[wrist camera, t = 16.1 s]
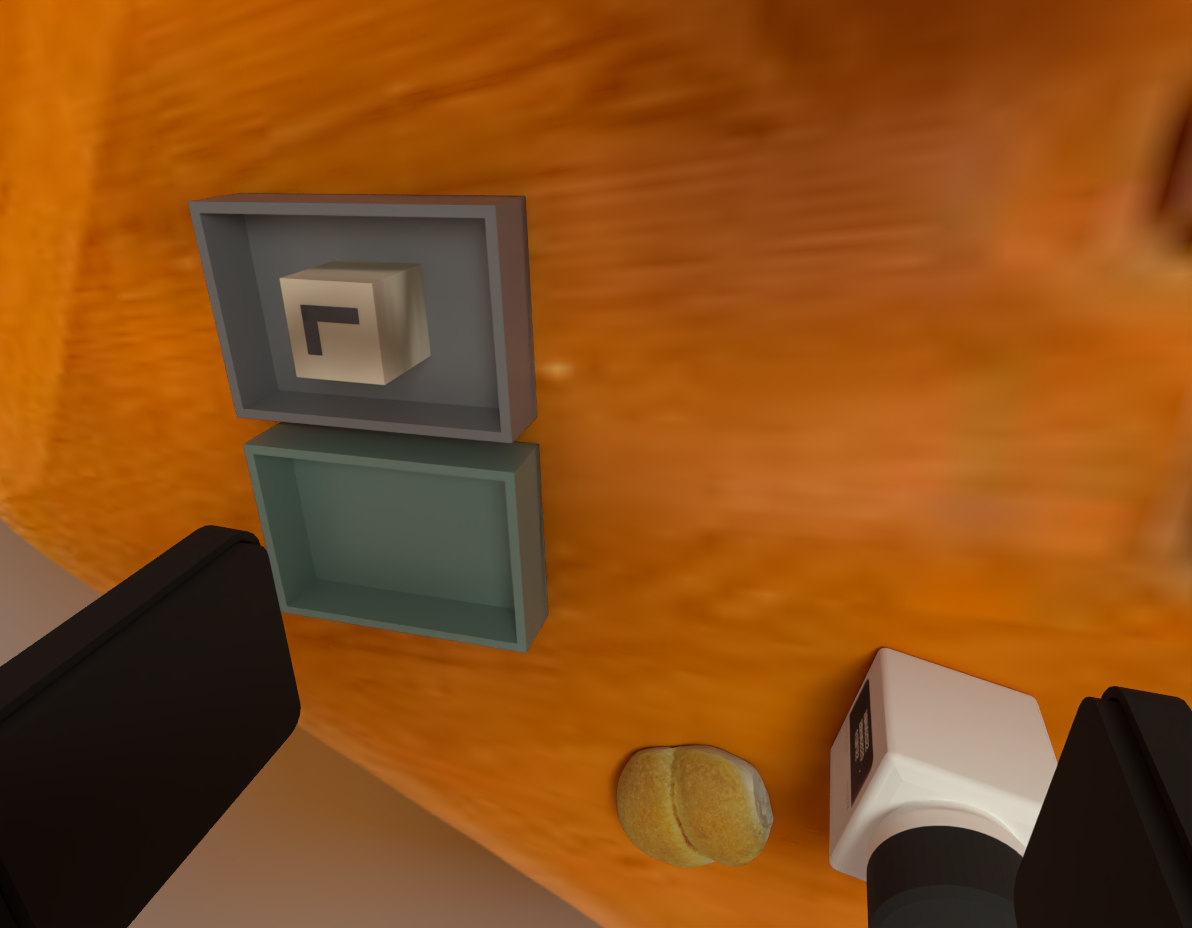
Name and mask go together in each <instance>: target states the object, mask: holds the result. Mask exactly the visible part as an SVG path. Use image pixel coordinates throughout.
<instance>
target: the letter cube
mask: <svg viewBox="0 0 1192 928" xmlns="http://www.w3.org/2000/svg"><path fill="white" fill-rule="evenodd" d="M279 279H280V284H281V290H282V296H283V301H284V307H285V313H286V318H287V324H288V330H289V335H290V341H291V347H292V352H293V358H294V364H295V369H296V375H297V377H302V378H313V379H324V380H335V381H346V382H357V383H368V384H379V385H386V384H387V383H389V382H390V381H392V380H394V379H395V378H397V377H398V376H400V375H401V374H403V373H405V372H406V371H408V370H409V369H411V368H412V367H414V366H416V365H417V364H419V363H420V362H422V361H423V360H425V359H427V358H428V357H430V356H431V354H430V344H429V334H428V324H427V314H426V304H425V294H424V284H423V274H422V264H418V263H398V262H377V261H357V260H334V261H331V262H328V263H325V264H322V265H319V266H316V267H313V268H310V269H306V270H303V271H300V272H297V273H294V274H291V275H288V276H285V277H282V278H279Z"/></svg>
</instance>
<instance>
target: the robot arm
mask: <svg viewBox="0 0 1192 928" xmlns="http://www.w3.org/2000/svg"><path fill="white" fill-rule="evenodd" d="M300 709H301V707H300V700H299V695H298V690H297V686H296V681H295V676H294V671H293V667H292V662H291V657H290V653H289V648H288V643H287V639H286V634H285V629H284V625H283V620H282V615H281V611H280V606H279V601H278V597H277V592H276V587H275V583H274V578H273V573H272V569H271V564H270V559H269V555H268V553H267V551H266V549H265V548H264V547H262V546H261V545H260V543H259V540H258V539H257V537H256V536H255V535H254V534H252V533H250V532H247V531H242V530H236V529H231V528H225V527H219V526H214V525H209V526H204V527H201V528H199V529H197V530H196V531H194V532H193V533H192V534H190V535H189V536H187V537H186V538H184V539H183V540H182V541H180V542H179V543H177V544H176V545H174V546H173V547H172V548H170V549H169V550H167V551H166V552H164V553H163V554H161V555H160V556H159V557H157V558H156V559H154V560H153V561H151V562H150V563H149V564H147V565H146V566H144V567H143V568H141V569H140V570H139V571H137V572H136V573H134V574H133V575H131V576H130V577H128V578H127V579H126V580H124V581H123V582H121V583H120V584H118V585H117V586H116V587H114V588H113V589H111V590H110V591H108V592H107V593H106V594H104V595H103V596H101V597H100V598H99V599H97V600H96V601H94V602H93V603H91V604H90V605H88V606H87V607H85V608H84V609H83V610H81V611H80V612H78V613H77V614H75V615H74V616H73V617H71V618H70V619H68V620H67V621H65V622H64V623H62V624H61V625H60V626H58V627H57V628H55V629H54V630H52V631H51V632H50V633H48V634H47V635H46V636H44V637H43V638H41V639H40V640H38V641H37V642H35V643H34V644H33V645H31V646H29V647H28V648H27V649H25V650H24V651H22V652H21V653H19V654H18V655H17V656H15V657H14V658H12V659H11V660H9V661H8V662H7V663H5V664H4V665H2V666H1V667H0V928H127V927H128V926H129V925H130V924H131V922H132V921H133V920H134V919H135V918H136V917H137V915H138V914H139V913H140V912H141V911H142V909H143V908H144V907H145V906H146V905H147V904H148V902H149V901H150V900H151V899H152V898H153V896H154V895H155V894H156V893H157V892H158V891H159V889H160V888H161V887H162V886H163V885H164V883H165V882H166V881H167V880H168V879H169V878H170V876H171V875H172V874H173V873H174V872H175V871H176V869H177V868H178V867H179V866H180V865H181V863H182V862H183V861H184V860H185V859H186V858H187V856H188V855H189V854H190V853H191V852H192V850H193V849H194V848H195V847H196V846H197V845H198V843H199V842H200V841H201V840H202V839H203V838H204V836H205V835H206V834H207V833H208V832H209V830H210V829H211V828H212V827H213V826H214V824H215V823H216V822H217V821H218V820H219V819H220V817H221V816H222V815H223V814H224V813H225V812H226V810H227V809H228V808H229V807H230V806H231V804H232V803H233V802H234V801H235V800H236V798H237V797H238V796H239V795H240V794H241V793H242V791H243V790H244V789H245V788H246V787H247V785H248V784H249V783H250V782H251V781H252V780H253V778H254V777H255V776H256V775H257V774H258V773H259V771H260V770H261V769H262V768H263V767H264V766H265V764H266V763H267V762H268V761H269V760H270V758H271V757H272V756H273V755H274V754H275V752H276V751H277V750H278V749H279V748H280V747H281V745H282V744H283V743H284V742H285V741H286V740H287V738H288V737H289V736H290V735H291V733H292V732H293V730H294V729H295V727H296V725H297V723H298V719H299V716H300ZM1014 910H1015V917H1016V922H1017V927H1018V928H1192V711H1191V709H1190V708H1189V706H1188V705H1187V704H1186V702H1185V701H1184V700H1182V699H1180V698H1178V697H1174V696H1168V695H1162V694H1157V693H1151V692H1145V691H1140V690H1134V689H1129V688H1123V687H1117V686H1113V687H1109V688H1108V689H1107V690H1106V691H1105V692H1104V693H1103V695H1102V697H1101V699H1099V698H1094V697H1086V698H1085V699H1083V700H1082V702H1081V704H1080V706H1079V708H1078V711H1077V714H1076V716H1075V719H1074V722H1073V724H1072V727H1071V730H1070V732H1069V735H1068V738H1067V740H1066V743H1065V746H1064V748H1063V751H1062V754H1061V756H1060V759H1059V762H1058V764H1057V767H1056V770H1055V772H1054V775H1053V778H1052V780H1051V783H1050V786H1049V788H1048V791H1047V794H1046V797H1045V799H1044V802H1043V805H1042V807H1041V810H1040V813H1039V815H1038V818H1037V821H1036V823H1035V826H1034V829H1033V831H1032V834H1031V837H1030V839H1029V842H1028V845H1027V847H1026V850H1025V853H1024V855H1023V858H1022V861H1021V863H1020V866H1019V869H1018V872H1017V875H1016V878H1015V885H1014Z"/></svg>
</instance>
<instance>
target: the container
mask: <svg viewBox="0 0 1192 928" xmlns="http://www.w3.org/2000/svg"><path fill="white" fill-rule="evenodd" d="M1057 764H1058V763H1057V760H1056V757H1055V754H1054V751H1053V748H1052V745H1051V742H1050V739H1049V736H1048V733H1047V730H1046V727H1045V724H1044V721H1043V718H1042V715H1041V712H1040V709H1039V706H1038V703H1037V701H1036V699H1035V698H1034V697H1032V696H1031V695H1028V694H1025V693H1022V692H1019V691H1016V690H1013V689H1010V688H1007V687H1004V686H1001V685H998V684H995V683H992V682H989V681H986V680H983V679H980V678H977V677H974V676H971V675H968V674H965V673H962V672H959V671H956V670H953V669H949V668H946V667H943V666H940V665H937V664H934V663H931V662H928V661H925V660H922V659H919V658H916V657H913V656H910V655H907V654H904V653H901V652H898V651H895V650H892V649H889V648H881V649H880V650H879V651H878V653H877V655H876V657H875V659H874V661H873V663H872V665H871V667H870V669H869V671H868V673H867V675H866V678H865V680H864V682H863V684H862V686H861V688H860V690H859V692H858V694H857V696H856V698H855V700H854V702H853V704H852V706H851V708H850V710H849V713H848V715H847V717H846V719H845V721H844V723H843V725H842V727H841V729H840V731H839V733H838V735H837V737H836V739H835V741H834V743H833V746H832V748H831V755H830V846H829V862H830V865H831V866H832V868H834V869H835V870H837V871H840V872H842V873H845V874H847V875H850V876H853V877H855V878H858V879H861V880H863V881H866V882H867V905H868V928H1018V927H1017V922H1016V917H1015V910H1014V885H1015V878H1016V875H1017V872H1018V869H1019V866H1020V863H1021V861H1022V858H1023V855H1024V853H1025V850H1026V847H1027V845H1028V842H1029V839H1030V837H1031V834H1032V831H1033V829H1034V826H1035V823H1036V821H1037V818H1038V815H1039V813H1040V810H1041V807H1042V805H1043V802H1044V799H1045V797H1046V794H1047V791H1048V788H1049V786H1050V783H1051V780H1052V778H1053V775H1054V772H1055V770H1056V767H1057Z"/></svg>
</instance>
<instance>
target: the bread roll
mask: <svg viewBox="0 0 1192 928" xmlns="http://www.w3.org/2000/svg"><path fill="white" fill-rule="evenodd" d="M616 801H617V810H618V816H619V819H620V822H621V824H622V826H623V828H624V830H625V832H626V834H627V836H628V837H629V839H630V840H631V841H632V842H633V843H634V844H635V845H636V846H637V847H638V848H639V849H640V850H641V851H643V852H644V853H646V854H647V855H648V856H650V857H653V858H655V859H657V860H659V861H662V862H666V863H668V864H671V865H674V866H677V867H680V868H691V867H698V866H702V865H706V864H709V863H712V862H715V861H716V862H718V863H721V864H723V865H728V866H739V865H745V864H747V863H748V862H750V861H751V860H753V859H754V858H755V857H757V856H758V855H759V854H760V853H761V852H762V851H763V849H764V847H765V844H766V841H767V839H768V837H769V834H770V829H771V826H772V822H773V815H772V809H771V805H770V800H769V796H768V793H767V790H766V788H765V786H764V783H763V781H762V779H761V777H760V774H759V773H758V771H757V770H756V769H755V768H754V766H752V765H751V764H750V763H748V762H747V761H745V760H743V759H741V758H739V757H737V756H735V755H733V754H731V753H728V752H726V751H723V750H721V749H718V748H716V747H712V746H707V745H704V746H701V745H690V746H679V747H675V748H670V747H655V748H648V749H644V750H641V751H638V752H637V753H635V754H634V755H633V756H632V757H631V759H630V760H629V761H628V763H627V764H626V766H625V767H624V769H623V771H622V773H621V775H620V778H619V781H618V785H617V800H616Z"/></svg>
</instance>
